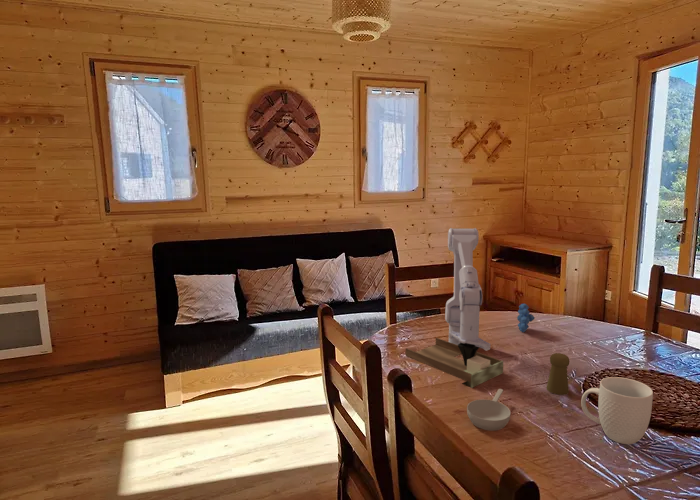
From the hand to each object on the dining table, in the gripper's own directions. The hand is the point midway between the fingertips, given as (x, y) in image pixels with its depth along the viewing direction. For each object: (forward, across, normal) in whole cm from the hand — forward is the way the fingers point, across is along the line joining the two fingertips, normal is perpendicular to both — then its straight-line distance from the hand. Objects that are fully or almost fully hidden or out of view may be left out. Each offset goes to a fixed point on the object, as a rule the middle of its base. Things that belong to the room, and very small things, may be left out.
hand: (468, 365), depth 150 cm
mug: (+3, +46, -2) cm, 46 cm away
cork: (+3, +24, +10) cm, 27 cm away
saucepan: (+3, +20, -17) cm, 27 cm away
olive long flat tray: (+2, -6, 0) cm, 7 cm away
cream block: (+1, +4, 0) cm, 4 cm away
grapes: (+3, -8, +48) cm, 49 cm away
